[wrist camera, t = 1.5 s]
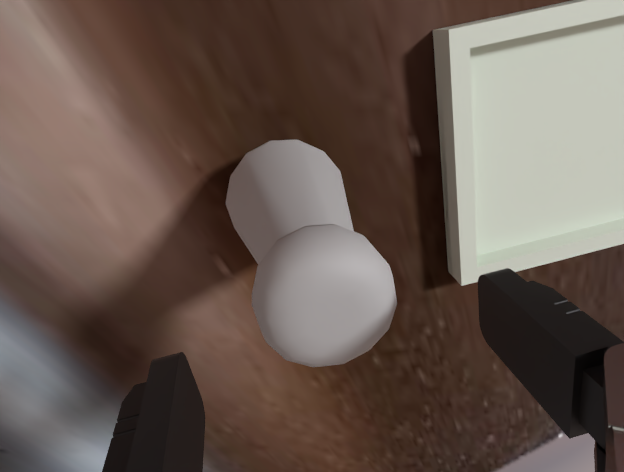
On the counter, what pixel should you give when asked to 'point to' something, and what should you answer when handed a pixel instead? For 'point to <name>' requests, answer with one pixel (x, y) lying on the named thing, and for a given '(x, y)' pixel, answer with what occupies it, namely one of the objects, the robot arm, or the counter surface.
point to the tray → (531, 136)
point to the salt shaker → (308, 256)
